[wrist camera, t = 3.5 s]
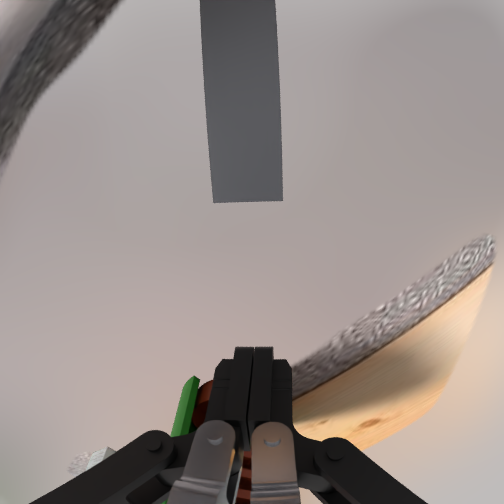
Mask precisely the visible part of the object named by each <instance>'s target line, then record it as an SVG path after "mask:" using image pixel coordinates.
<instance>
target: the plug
mask: <svg viewBox="0 0 504 504" xmlns="http://www.w3.org/2000/svg"><path fill="white" fill-rule="evenodd" d="M200 14H201V15H200V16H201V37H202V54H203V74H204V90H205V105H206V118H207V132H208V145H209V157H210V170H211V181H212V192H213V202H214V203H223V202H224V203H226V202H255V201H256V202H258V201H283V186H282V185H283V184H282V145H281V144H282V142H281V110H280V86H279V85H280V84H279V63H278V42H277V24H276V8H275V0H200Z"/></svg>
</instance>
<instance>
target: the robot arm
mask: <svg viewBox="0 0 504 504" xmlns="http://www.w3.org/2000/svg"><path fill="white" fill-rule="evenodd" d="M251 447H252V488H251V497H250V504H301V502H300V492H299V487H301V488H305V489H309V490H310V491H311V492H312V493H313V494H314V495H315V496H316V497H317V498H318V499H319V500H320V501H321V502H322V503H323V504H428V503H426V502H425V501H423V500H422V499H421V498H419V497H418V496H417V495H415V494H414V493H413V492H411V491H410V490H409V489H407V488H406V487H405V486H404V485H402V484H401V483H400V482H398V481H397V480H396V479H394V478H393V477H392V476H391V475H390V474H388V473H387V472H386V471H385V470H383V469H382V468H381V467H380V466H378V465H377V464H376V463H375V462H373V461H372V460H371V459H370V458H368V457H367V456H366V455H365V454H364V453H362V452H361V451H360V450H359V449H358V448H357V447H355V446H354V445H353V444H352V443H351V442H349V441H348V440H346V439H343V438H339V437H333V438H328V439H325V440H323V441H322V442H321V441H317V440H313V439H309V438H306V437H304V436H302V435H300V434H299V433H298V432H297V431H296V429H295V428H294V426H293V421H292V369H291V367H290V365H289V363H288V362H287V360H286V359H282V360H281V359H280V360H279V359H278V360H277V359H276V360H274V356H273V347H255V351H254V347H236V348H235V353H234V359H222V361H221V362H220V363H219V364H218V366H217V367H216V369H215V373H214V378H213V383H212V389H211V393H210V397H209V402H208V407H207V412H206V417H205V420H204V422H203V424H202V425H201V426H200V427H199V428H198V429H197V430H196V431H194V432H192V433H190V434H186V435H180V436H174V437H170V436H169V435H168V434H167V433H165V432H163V431H159V430H152V431H148V432H146V433H144V434H142V435H141V436H139V437H138V438H136V439H135V440H133V441H132V442H130V443H129V444H127V445H126V446H125V447H123V448H121V449H120V450H118V451H117V452H115V453H114V454H112V455H111V456H109V457H107V458H106V459H104V460H103V461H101V462H100V463H98V464H96V465H95V466H93V467H92V468H90V469H88V470H87V471H85V472H83V473H82V474H80V475H78V476H77V477H75V478H74V479H72V480H70V481H68V482H67V483H65V484H63V485H62V486H60V487H58V488H56V489H55V490H53V491H51V492H49V493H47V494H46V495H44V496H42V497H40V498H38V499H37V500H35V501H33V502H31V503H29V504H162V503H163V502H164V501H166V500H167V499H168V501H167V504H235V501H236V496H237V491H238V487H239V482H240V477H241V472H242V464H243V455H244V451H250V450H251Z"/></svg>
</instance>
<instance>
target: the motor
mask: <svg viewBox="0 0 504 504" xmlns="http://www.w3.org/2000/svg"><path fill="white" fill-rule="evenodd" d="M199 382H200V379H198V378H197V377H195V376H193V377H191V378H190V379H189V380H188V381H187V382H186V384H185V385H184V387H183V390H182V394H181V398H180V401H179V406H178V409H177V413H176V417H175V421H174V425H173V428H172V432H171V436H170V437H174V436H180V435H186V434H190V433H192V432H194V431H196V430H197V429H198V428H199V427H200V426H201V425H202V424H203V422H204V420H205V417H206V412H207V407H208V402H209V397H210V393H211V389H212V383H213V380H211V381H208V382H206V383H204V384H203V385H202V386H201V387H199ZM198 387H199V389H198ZM251 488H252V447H251V450H250V451H244V455H243V464H242V472H241V477H240V482H239V487H238V491H237V496H236V501H235V504H250V497H251ZM167 501H168V499H167V500H166V501H164V502H163V503H162V504H167Z"/></svg>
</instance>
